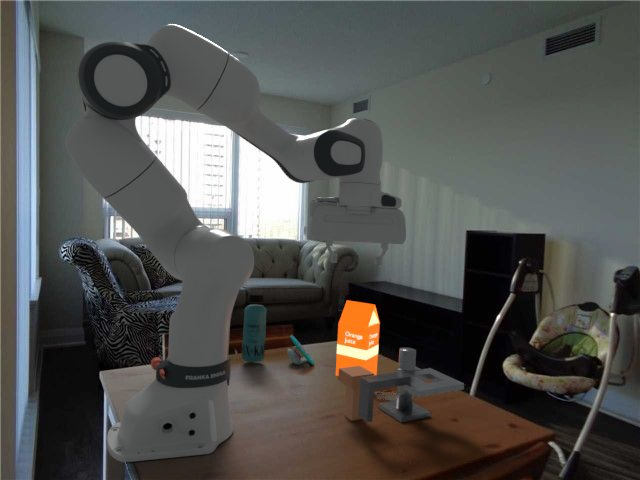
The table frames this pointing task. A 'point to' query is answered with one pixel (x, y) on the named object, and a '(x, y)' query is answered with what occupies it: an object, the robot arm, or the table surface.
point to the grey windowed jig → (404, 389)
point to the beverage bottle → (254, 330)
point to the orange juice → (358, 337)
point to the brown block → (352, 388)
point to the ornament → (298, 353)
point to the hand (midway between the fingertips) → (355, 263)
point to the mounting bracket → (386, 396)
